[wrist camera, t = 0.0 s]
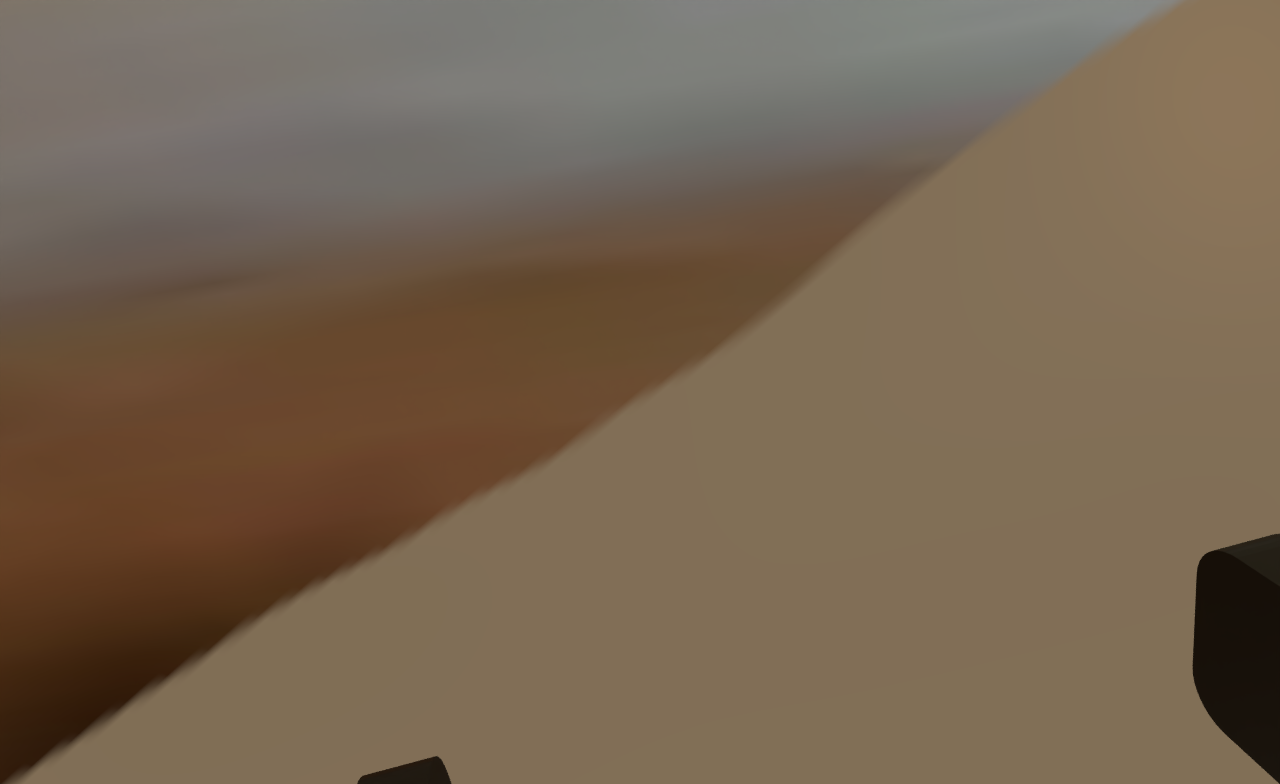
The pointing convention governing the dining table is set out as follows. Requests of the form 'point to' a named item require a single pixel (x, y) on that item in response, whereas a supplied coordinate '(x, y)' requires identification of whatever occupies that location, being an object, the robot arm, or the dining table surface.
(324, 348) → the dining table surface
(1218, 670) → the robot arm
